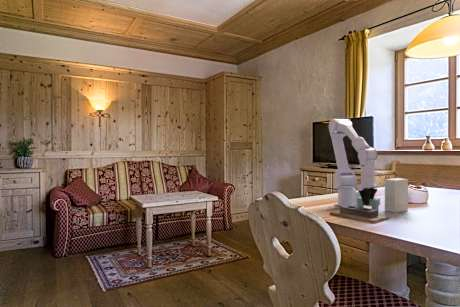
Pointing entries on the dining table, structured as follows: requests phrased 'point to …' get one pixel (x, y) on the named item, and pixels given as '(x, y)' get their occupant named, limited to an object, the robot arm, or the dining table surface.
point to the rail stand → (359, 214)
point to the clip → (372, 202)
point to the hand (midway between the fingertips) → (367, 204)
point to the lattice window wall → (360, 196)
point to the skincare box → (396, 195)
